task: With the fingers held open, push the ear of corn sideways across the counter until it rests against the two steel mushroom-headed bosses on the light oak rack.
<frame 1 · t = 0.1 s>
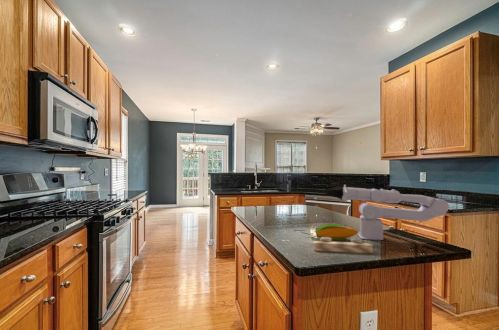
hand: (325, 191, 122), 22 cm above the countertop, tool horizontal, fingers open, 7 cm apart
corn: (336, 240, 115), on the countertop
boss rack: (341, 249, 101), on the countertop
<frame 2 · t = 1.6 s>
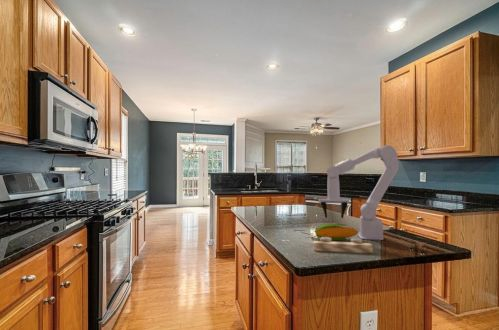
hand: (334, 217, 124), 8 cm above the countertop, tool pointing down, fingers open, 7 cm apart
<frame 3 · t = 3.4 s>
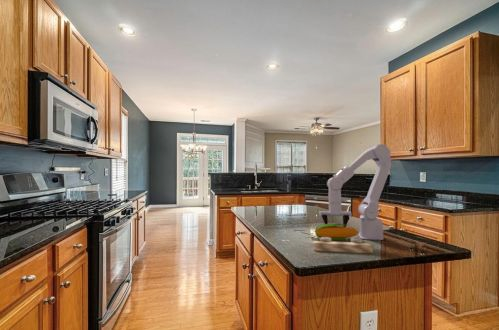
hand: (335, 230, 119), 3 cm above the countertop, tool pointing down, fingers open, 7 cm apart
corn: (337, 240, 115), on the countertop, touching gripper
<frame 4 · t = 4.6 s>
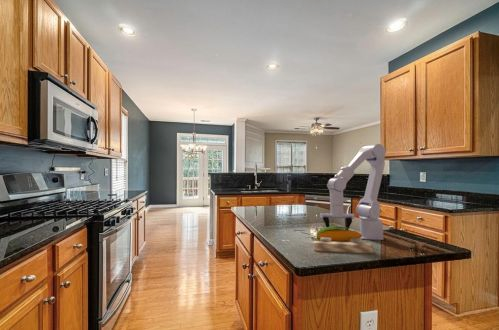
hand: (337, 234, 113), 3 cm above the countertop, tool pointing down
corn: (339, 243, 109), on the countertop, touching boss rack, gripper
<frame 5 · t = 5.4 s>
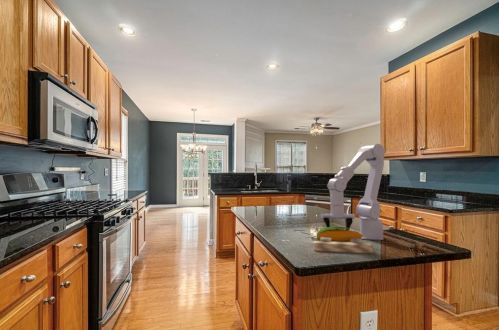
hand: (337, 234, 113), 3 cm above the countertop, tool pointing down
corn: (339, 244, 109), on the countertop, touching boss rack, gripper
when the fingers open (3 cm above the countertop, at t = 5.6 s): corn stays where it is, on the countertop.
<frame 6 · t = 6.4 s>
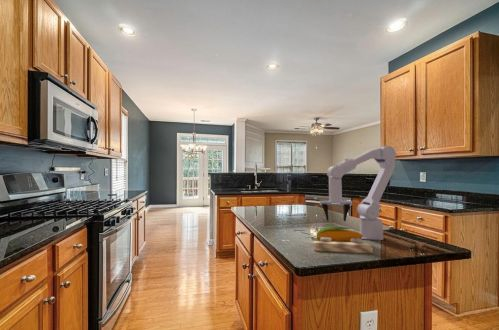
hand: (335, 220, 117), 8 cm above the countertop, tool pointing down, fingers open, 7 cm apart
corn: (339, 244, 109), on the countertop
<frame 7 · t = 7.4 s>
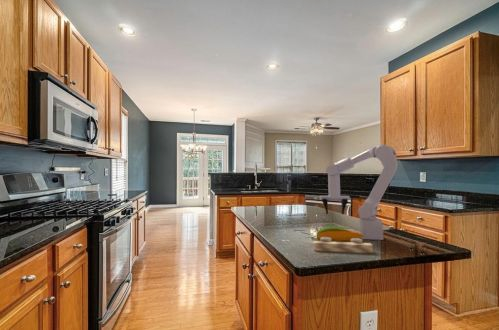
hand: (334, 213, 129), 9 cm above the countertop, tool pointing down, fingers open, 7 cm apart
nothing on the countertop moved.
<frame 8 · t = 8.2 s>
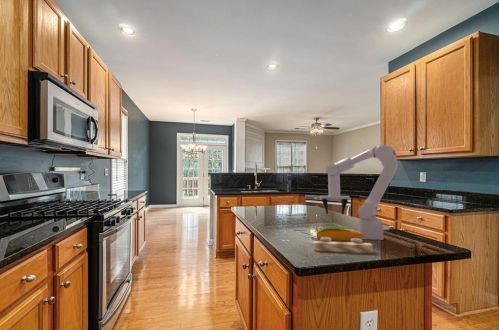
hand: (334, 213, 129), 9 cm above the countertop, tool pointing down, fingers open, 7 cm apart
nothing on the countertop moved.
at the end: corn inside the target area (1.1 cm from its centre), on the countertop; corn moved 4.9 cm from its start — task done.
